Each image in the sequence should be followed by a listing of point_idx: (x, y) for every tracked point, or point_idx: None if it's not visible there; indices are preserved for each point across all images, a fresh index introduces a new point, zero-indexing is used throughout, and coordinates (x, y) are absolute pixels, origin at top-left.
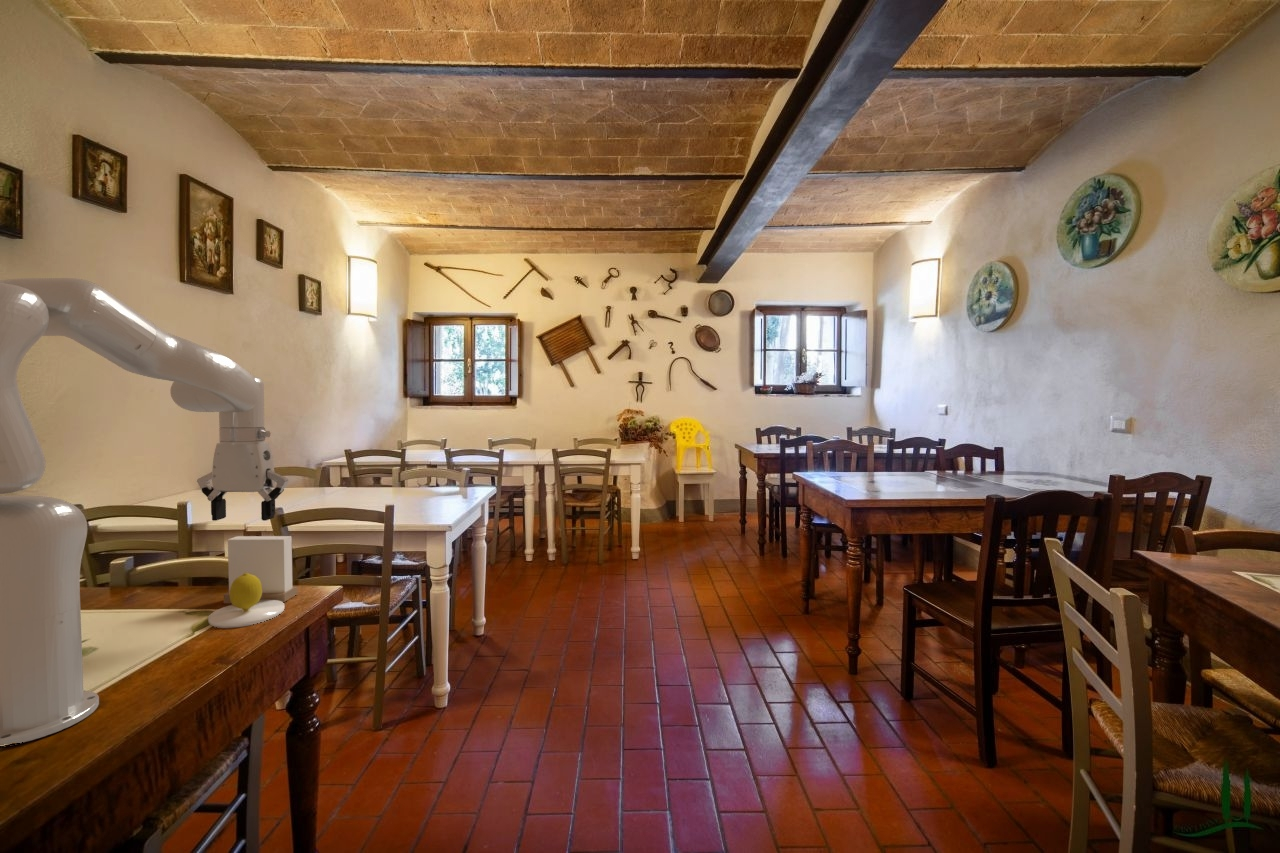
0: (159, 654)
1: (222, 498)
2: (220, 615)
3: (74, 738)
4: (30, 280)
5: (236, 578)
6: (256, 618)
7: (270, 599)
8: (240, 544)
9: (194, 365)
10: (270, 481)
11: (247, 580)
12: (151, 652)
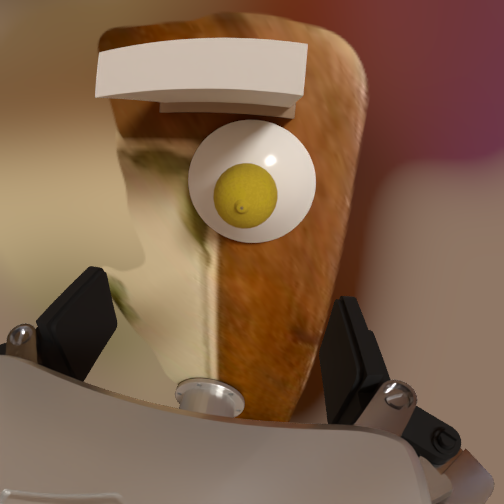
0: (211, 312)
1: (51, 347)
2: (212, 203)
3: (256, 414)
4: None
5: (222, 209)
6: (289, 227)
7: (262, 115)
8: (140, 93)
9: None
10: (383, 486)
11: (256, 222)
12: (196, 305)
